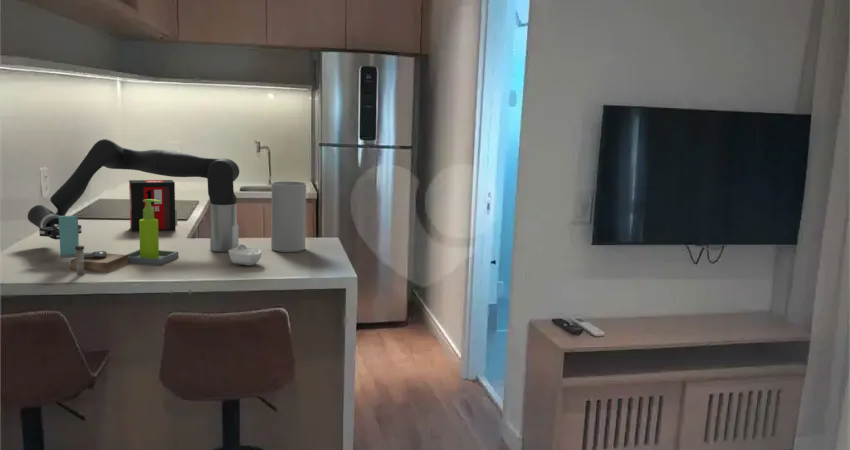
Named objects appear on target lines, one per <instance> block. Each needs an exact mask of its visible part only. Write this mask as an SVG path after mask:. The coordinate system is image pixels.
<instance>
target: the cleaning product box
mask: <svg viewBox="0 0 850 450" xmlns="http://www.w3.org/2000/svg"><path fill="white" fill-rule="evenodd" d="M128 182H129V186H128V187H129V188H128V191H129V212H130V213H129V217H130V218H129V219H130V220H129V221H130V222H129V223H130V230H131V232H132V233H139V220H140V219H143V209H145V208H146V202H143V200H145V199H156V200H159V201H161V202H159V203H156V202H151V208H152V209H154V218H155V219H158V232H165V231H167V232H169V231H170V232H171V231H172V232H173V231H176V224H175V208H176V186H175V185H176V184H175V183H176V182H174V181H173V179H143V180H141V179H138V180H137V179H133V180H132V179H131V180H129V181H128Z"/></svg>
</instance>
